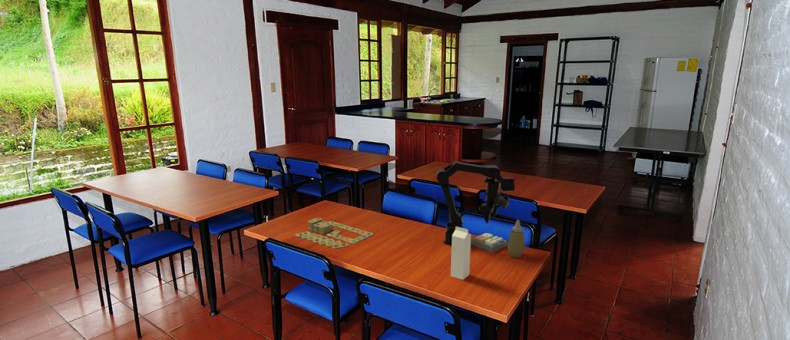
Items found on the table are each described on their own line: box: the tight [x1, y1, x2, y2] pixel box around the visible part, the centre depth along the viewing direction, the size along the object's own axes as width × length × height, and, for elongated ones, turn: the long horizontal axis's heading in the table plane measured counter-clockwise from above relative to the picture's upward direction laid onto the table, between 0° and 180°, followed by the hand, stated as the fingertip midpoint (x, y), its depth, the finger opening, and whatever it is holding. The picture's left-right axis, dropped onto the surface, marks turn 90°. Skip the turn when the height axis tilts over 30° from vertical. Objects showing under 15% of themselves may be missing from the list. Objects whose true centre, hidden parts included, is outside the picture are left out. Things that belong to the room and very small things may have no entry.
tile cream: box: [485, 239, 497, 246], centre depth 211 cm, size 4×4×2 cm
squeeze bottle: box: [506, 219, 526, 259], centre depth 202 cm, size 8×8×18 cm
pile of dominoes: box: [294, 217, 374, 250], centre depth 228 cm, size 35×27×6 cm
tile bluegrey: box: [491, 235, 504, 244], centre depth 214 cm, size 4×4×2 cm
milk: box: [450, 227, 472, 281], centre depth 181 cm, size 6×6×22 cm
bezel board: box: [471, 234, 508, 254], centre depth 215 cm, size 12×13×3 cm
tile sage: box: [481, 232, 494, 240], centre depth 219 cm, size 4×4×2 cm
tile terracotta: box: [474, 234, 487, 243], centre depth 215 cm, size 4×4×2 cm
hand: (490, 220), depth 214 cm, fingers open, 9 cm apart
